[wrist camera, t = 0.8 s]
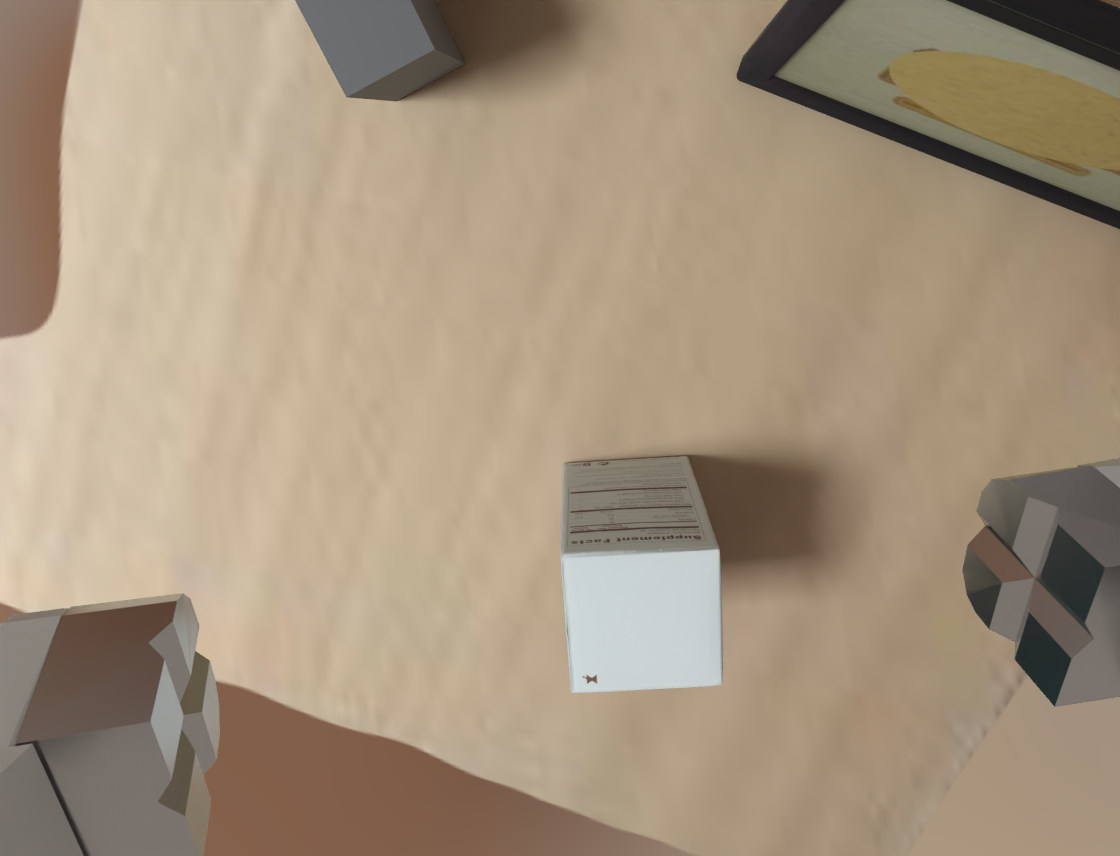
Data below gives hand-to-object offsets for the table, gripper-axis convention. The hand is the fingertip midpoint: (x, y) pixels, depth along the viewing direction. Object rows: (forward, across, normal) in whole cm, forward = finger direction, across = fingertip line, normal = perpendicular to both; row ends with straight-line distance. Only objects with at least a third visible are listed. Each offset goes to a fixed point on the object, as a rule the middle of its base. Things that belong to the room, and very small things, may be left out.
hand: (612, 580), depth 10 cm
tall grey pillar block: (+44, -1, +2) cm, 44 cm away
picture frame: (+37, -28, +4) cm, 47 cm away
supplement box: (+36, -10, +27) cm, 46 cm away
